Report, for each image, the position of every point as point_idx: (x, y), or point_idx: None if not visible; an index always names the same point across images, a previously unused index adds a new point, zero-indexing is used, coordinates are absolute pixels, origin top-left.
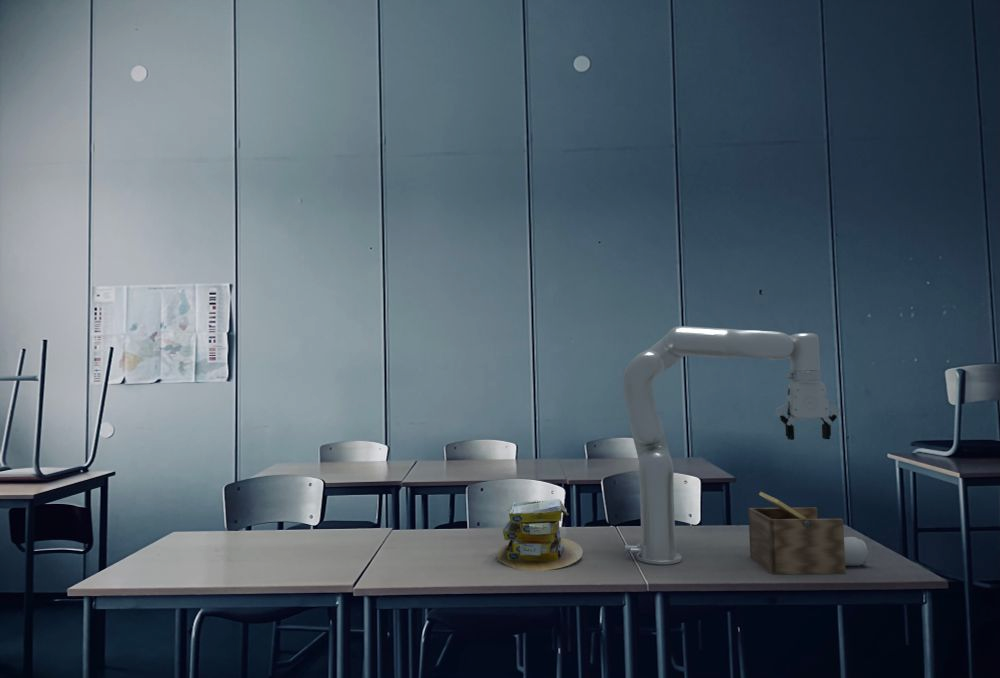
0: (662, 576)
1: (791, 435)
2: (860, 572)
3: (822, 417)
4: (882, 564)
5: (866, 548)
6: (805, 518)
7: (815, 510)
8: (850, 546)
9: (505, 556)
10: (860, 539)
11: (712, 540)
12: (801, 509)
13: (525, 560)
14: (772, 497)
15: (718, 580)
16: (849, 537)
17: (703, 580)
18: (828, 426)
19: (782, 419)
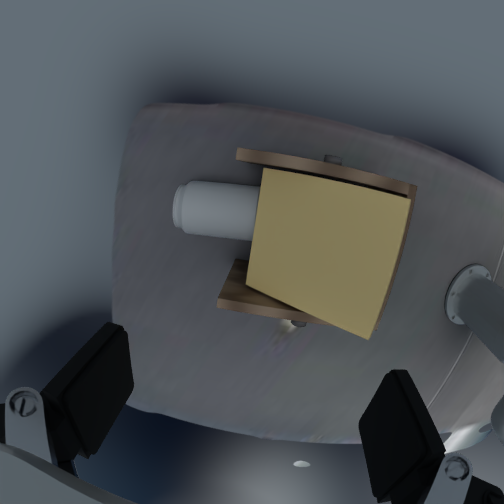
0: (498, 214)
1: (412, 391)
2: (220, 159)
3: (53, 471)
4: (155, 201)
5: (179, 188)
6: (327, 179)
7: (222, 296)
8: (210, 188)
9: None
10: (173, 211)
11: (341, 382)
12: (257, 303)
13: None
14: (398, 249)
15: (455, 174)
16: (194, 212)
17: (470, 180)
18: (57, 383)
19: (491, 487)
